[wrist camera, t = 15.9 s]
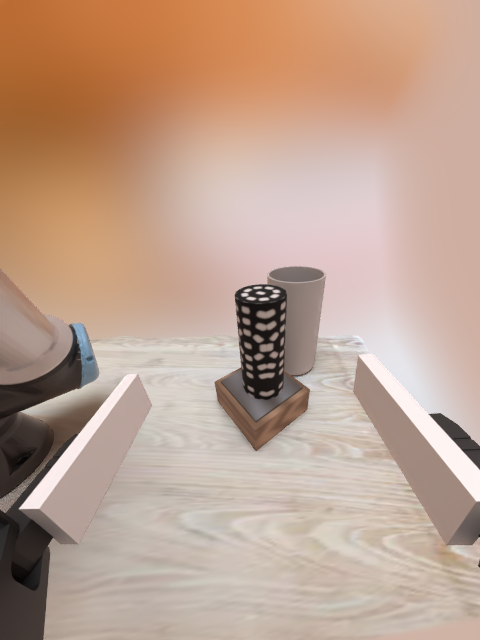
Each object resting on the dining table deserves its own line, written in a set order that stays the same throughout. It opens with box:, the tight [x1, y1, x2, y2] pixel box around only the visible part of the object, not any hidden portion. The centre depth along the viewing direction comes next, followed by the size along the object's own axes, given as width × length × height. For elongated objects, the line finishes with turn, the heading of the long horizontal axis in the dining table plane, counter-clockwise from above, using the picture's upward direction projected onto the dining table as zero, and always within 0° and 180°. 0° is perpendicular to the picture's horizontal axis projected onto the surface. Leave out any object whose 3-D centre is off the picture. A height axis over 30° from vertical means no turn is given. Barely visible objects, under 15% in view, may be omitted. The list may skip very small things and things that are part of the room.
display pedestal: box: [215, 368, 310, 451], centre depth 44 cm, size 14×14×6 cm
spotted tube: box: [235, 284, 287, 400], centre depth 38 cm, size 8×8×20 cm
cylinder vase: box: [267, 266, 326, 375], centre depth 52 cm, size 12×12×25 cm
